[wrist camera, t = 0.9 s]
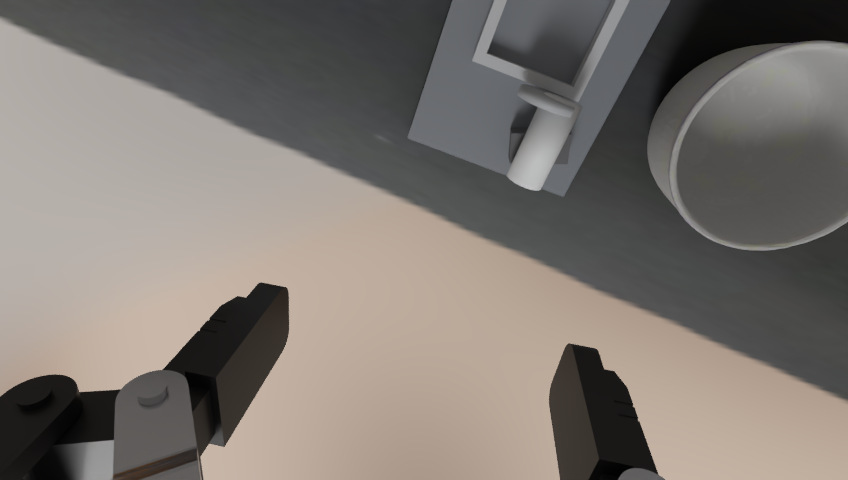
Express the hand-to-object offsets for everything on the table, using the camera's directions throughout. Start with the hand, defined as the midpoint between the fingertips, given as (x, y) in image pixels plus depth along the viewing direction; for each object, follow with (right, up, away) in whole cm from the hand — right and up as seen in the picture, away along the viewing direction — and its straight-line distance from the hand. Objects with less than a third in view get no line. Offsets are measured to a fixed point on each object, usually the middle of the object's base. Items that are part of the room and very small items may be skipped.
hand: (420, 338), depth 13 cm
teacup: (+21, +11, +17) cm, 29 cm away
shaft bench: (+8, +17, +15) cm, 24 cm away
